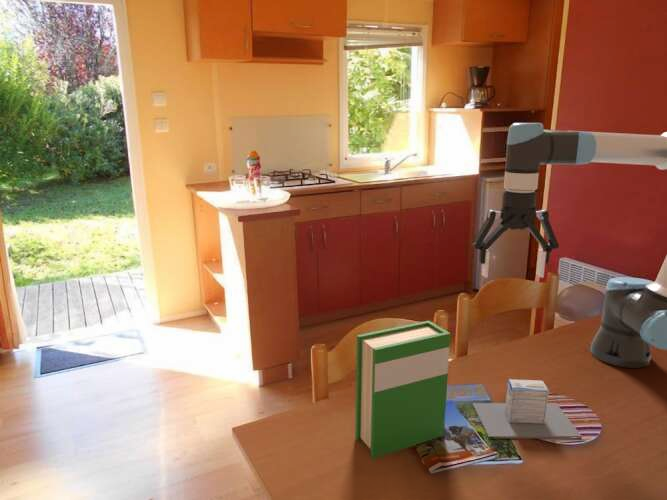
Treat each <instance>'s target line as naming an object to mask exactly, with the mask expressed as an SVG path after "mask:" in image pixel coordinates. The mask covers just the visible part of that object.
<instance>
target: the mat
mask: <svg viewBox="0 0 667 500" xmlns="http://www.w3.org/2000/svg"><path fill="white" fill-rule="evenodd" d="M473 406H474V407H473ZM505 406H506V402H500V403H499V402H496V403H495V402H494V403H493V402H487V403H486V402H485V403H484V402H483V403H482V402H473V403H472V407H473V409H474V408H475V409H474V411H475V414H476V416H477V415H478V416H477V417H479V418H478V419H480V420H479V421H481V422H480V424H481V423H482V424H481V426H482V425H483V426H482V428H483V427H484V428H483V430H484V429H485V430H484V432H485V431H486V432H485V434H486V433H487V434H486V436H487V435H488V436H487V438H488V437H496V438H495V439H498V438H497V437H500V438H499V439H572V438H571V437H583V436H582V435H581V433H580V432H579V431H578V429H577V428H576V427H575V425H574V424H573V423H572V422H571V420H570V419H569V417H568V416H567V414H566V413H564V411H563V410H562V409H561V407H560V406H559V405H558V404H557V402H548V403H547V410H546V419H545V424H535V423H511V422H509V421H508V418H507V415H506V413H505ZM565 437H566V438H565Z"/></svg>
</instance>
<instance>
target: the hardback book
mask: <svg viewBox="0 0 667 500" xmlns="http://www.w3.org/2000/svg"><path fill="white" fill-rule="evenodd" d="M450 343H451V332H449V331H448V330H446V329H444V328H442V327H440V326H439V325H437V324H436V323H433V322H432V321H430V320H425V321H424V320H423V321H420V322H416V323H411V324H406V325H401V326H397V327H392V328H386V329H381V330H377V331H376V330H375V331H371V332H366V333H362V334H357V335H356V366H355V367H356V368H355V369H356V371H355V372H356V373H355V374H356V376H355V378H356V379H355V380H356V381H355V383H356V385H355V434H354V435H355V440H356V441H357V442H359V441H362V442H363V443H364V444H365V445H366V446H367V447H368V448H369V450H370V458H371V459H373V460H374V459H376V458H377V459H378V458H380V457H382V456H386V455H390V454H394V453H395V452H398V451H401V450H405V449H409V448H411V447H415V446H417V445H416V444H418V445H420V444H419V443H421V444H423V443H422V442H424V443H426V441H427V442H429V441H428V440H430V441H433V440H436V439H438V438H437V437H439V436H442V435H444V436H445V422H446V421H445V420H446V404H447V391H448V376H449V375H448V374H449V360H450V359H449V358H450V345H451V344H450ZM442 437H443V436H442ZM435 438H436V439H435ZM439 438H440V437H439ZM432 439H433V440H432Z"/></svg>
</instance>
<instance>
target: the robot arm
mask: <svg viewBox="0 0 667 500" xmlns="http://www.w3.org/2000/svg"><path fill="white" fill-rule="evenodd" d="M508 128H509V129H508V133H507V138H506V139H507V140H506V154H505V155H506V156H505V168H504V178H503V188H504V191H503V192H502V202H501V209H500V211H499V210H498V211H497V210H493V209H488V210H487V215H486V219H485V220H484V222H483V223H482V226H481V228H480V229H479V231H478V233H477V234H476V236H475V237H474V239H473V241H472V243H471V245H472V247H473V248H474V249H475V250H479V252H478V263H480V264H481V275H482V276H483V277H484V279H486V278H487V279H488V277H489V268H490V267H489V266H490V264H489V263H490V254H491V253H490V250H489V248H490V247H491V246H492V245H494V243H495V242H496V241H497V240H498V239H499V238H500V237H501V236H502V235H503V234H504V232H506V231H508V230H509V229H510V230H525V229H527V230H528V231H529V232H530V234H531V235H532V237H533V238H534V239H535V240H536V241H537V242H538V244H539V245H540V246H541V248H538V254H537V264H536V273H535V275H537V276H538V277H539V278H543V279H544V278H545V277H544V276H545V267H546V266H545V265H546V264H549V261H550V254H551V252H553V250H554V249H555V250H557V249H559V247H560V246H559V242H558V240H557V238H556V236H555V232H554V230H553V228H552V225H551V223H550V222H551V221H549V219H550V217H549V215H550V214H549V211H548V210H546V209H544V208H542V209H541V208H540V210H536V206H537V196H538V193H537V192H536V190H537V189H538V185H539V172H540V165H545V166H546V165H572V166H573V165H574V166H577V165H578V166H579V165H587V164H590V163H602V164H603V163H605V164H620V165H621V164H622V165H623V164H624V165H638V166H639V165H641V166H642V165H643V166H654V167H656V168H657V169H658V170H659V171H660V170H661V171H662V170H663V171H667V131H666V132H663V133H662V134H659V135H658V134H642V133H641V134H638V133H619V132H618V133H617V132H601V131H581V130H561V129H546V128H544V125H543V123H542V122H514V123H512V124H511V125H510V126H509V127H508ZM536 217H537V219H538V220H539V221H540V224H541V226H542V229H543V230H544V231H543V232H544V234H545V236H546V238H547V240H546V239H545V238H544V236H543V235H542V234H541V233H540V232H539V230H538V229H537V226H536V225H534V222H533V221H534V220H535V219H536ZM498 218H500V219H501V221H500V222H499V223H498V224H497V226H496V227H495V228H494V230H492V232H491V233H490V234H489V231H490V230H491V229H492V226H493V225H494V224H495V223H494V222H495V221H497V220H498ZM488 234H489V235H488ZM487 235H488V236H487ZM604 293H605V294H604V300H603V306H602V307H603V308H602V315H601V320H600V321H601V322H600V327H599V329H598V330H597V332H596V334H595V336H594V338H593V339H592V340H591V345H590V349H589V350H590V353H591V355H593V357H594V358H596V359H598V360H600V361H601V362H604V363H606V364H609V365H612V366H615V367H616V366H617V367H620V368H621V367H622V368H627V369H628V368H629V369H641V368H644V367H647V366H649V365H650V364H651V358H652V352H651V348H650V345H651V346H653V347H654V348H656V349H658V350H661V351H662V350H663V351H667V255H666V256H665V258H664V261H663V263H662V265H661V268H660V270H659V272H658V274H657V277H656V278H655V280H654V281H653V280H649V279H645V278H639V277H627V276H626V277H625V276H622V277H621V276H620V277H619V276H618V277H613V278H610V279H608V281H607V283H606V287H605V290H604Z"/></svg>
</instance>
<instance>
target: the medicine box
mask: <svg viewBox="0 0 667 500" xmlns="http://www.w3.org/2000/svg"><path fill="white" fill-rule="evenodd" d="M549 394H550V390H549V388H548V386H547V385H546V384H545V383H544V380H538V379H537V380H536V379H535V380H534V379H533V380H532V379H512V378H510V379H508V380H507V387H506V396H505V397H506V398H505V403H506V406H505V413H506V415H507V418H508V421H509V422H511V423H535V424H545V419H546V410H547V403H549V402H548V401H549Z"/></svg>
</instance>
